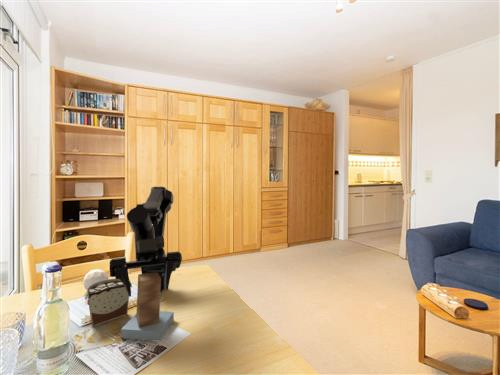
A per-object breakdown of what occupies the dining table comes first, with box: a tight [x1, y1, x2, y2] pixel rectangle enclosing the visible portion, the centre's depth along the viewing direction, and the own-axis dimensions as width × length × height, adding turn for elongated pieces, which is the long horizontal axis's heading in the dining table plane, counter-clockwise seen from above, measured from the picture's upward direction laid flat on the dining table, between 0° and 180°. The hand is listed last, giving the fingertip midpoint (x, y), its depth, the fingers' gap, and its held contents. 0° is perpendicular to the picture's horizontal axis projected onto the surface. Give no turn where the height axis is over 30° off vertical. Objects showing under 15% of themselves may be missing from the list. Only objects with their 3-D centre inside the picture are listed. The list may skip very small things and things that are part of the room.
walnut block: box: [135, 272, 161, 327], centre depth 75 cm, size 5×5×12 cm
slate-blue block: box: [120, 310, 175, 341], centre depth 75 cm, size 10×10×3 cm
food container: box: [84, 278, 133, 327], centre depth 81 cm, size 12×6×10 cm, turn 134°
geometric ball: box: [82, 268, 109, 291], centre depth 99 cm, size 8×8×8 cm
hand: (149, 292), depth 74 cm, fingers open, 9 cm apart
